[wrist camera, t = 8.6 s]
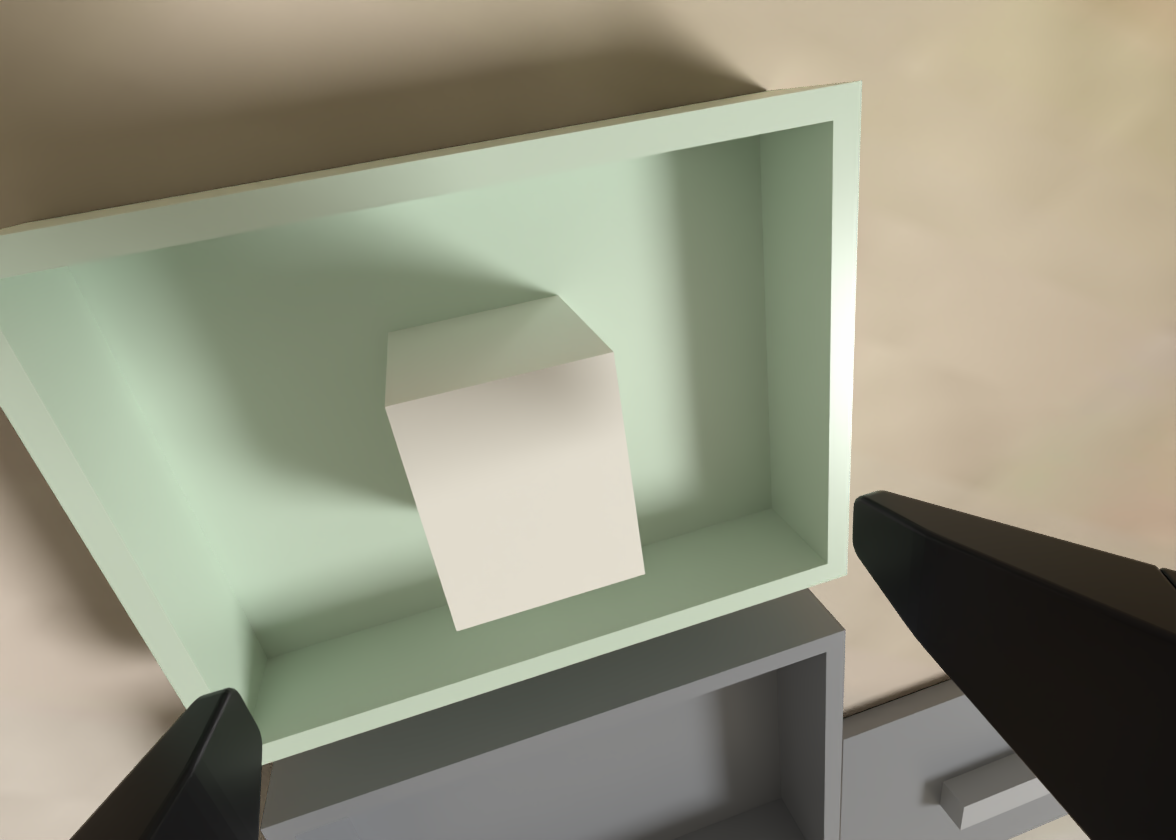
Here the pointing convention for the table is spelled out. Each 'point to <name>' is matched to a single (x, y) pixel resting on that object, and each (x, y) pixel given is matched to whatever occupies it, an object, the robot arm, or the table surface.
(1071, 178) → the table surface
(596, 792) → the bin
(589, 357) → the cream block
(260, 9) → the table surface
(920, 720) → the bin lid
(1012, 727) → the robot arm
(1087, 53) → the table surface
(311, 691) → the bin
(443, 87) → the table surface
